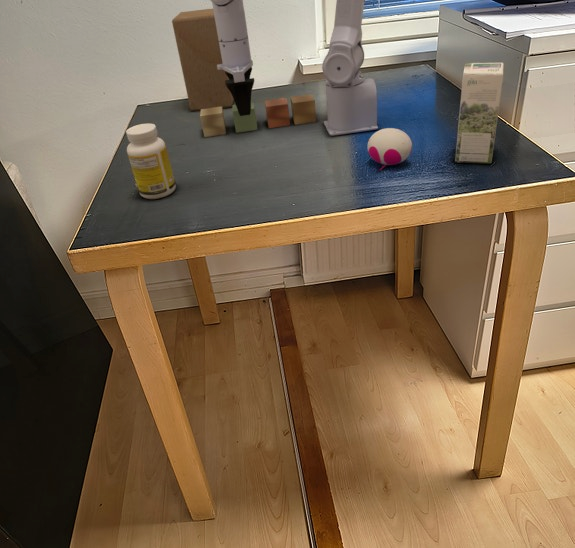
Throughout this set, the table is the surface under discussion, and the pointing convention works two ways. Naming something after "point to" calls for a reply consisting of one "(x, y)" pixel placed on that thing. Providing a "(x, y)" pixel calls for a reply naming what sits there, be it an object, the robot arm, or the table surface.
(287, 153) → the table surface
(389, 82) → the table surface
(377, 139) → the stress ball
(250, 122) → the pale green cube
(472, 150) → the syrup box
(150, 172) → the pill bottle
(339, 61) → the robot arm
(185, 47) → the wooden block
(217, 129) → the block line
